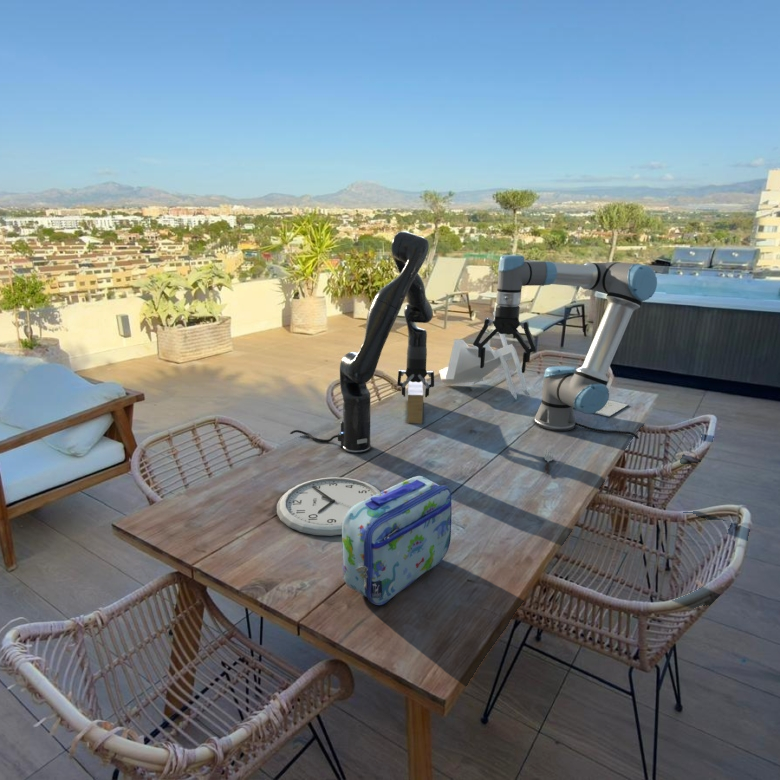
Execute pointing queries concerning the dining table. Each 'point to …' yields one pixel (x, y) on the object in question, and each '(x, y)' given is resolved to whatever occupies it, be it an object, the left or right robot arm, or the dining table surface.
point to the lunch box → (395, 537)
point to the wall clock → (322, 504)
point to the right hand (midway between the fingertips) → (502, 369)
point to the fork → (548, 460)
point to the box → (415, 402)
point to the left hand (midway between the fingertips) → (415, 396)
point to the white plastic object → (468, 364)
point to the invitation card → (611, 408)
